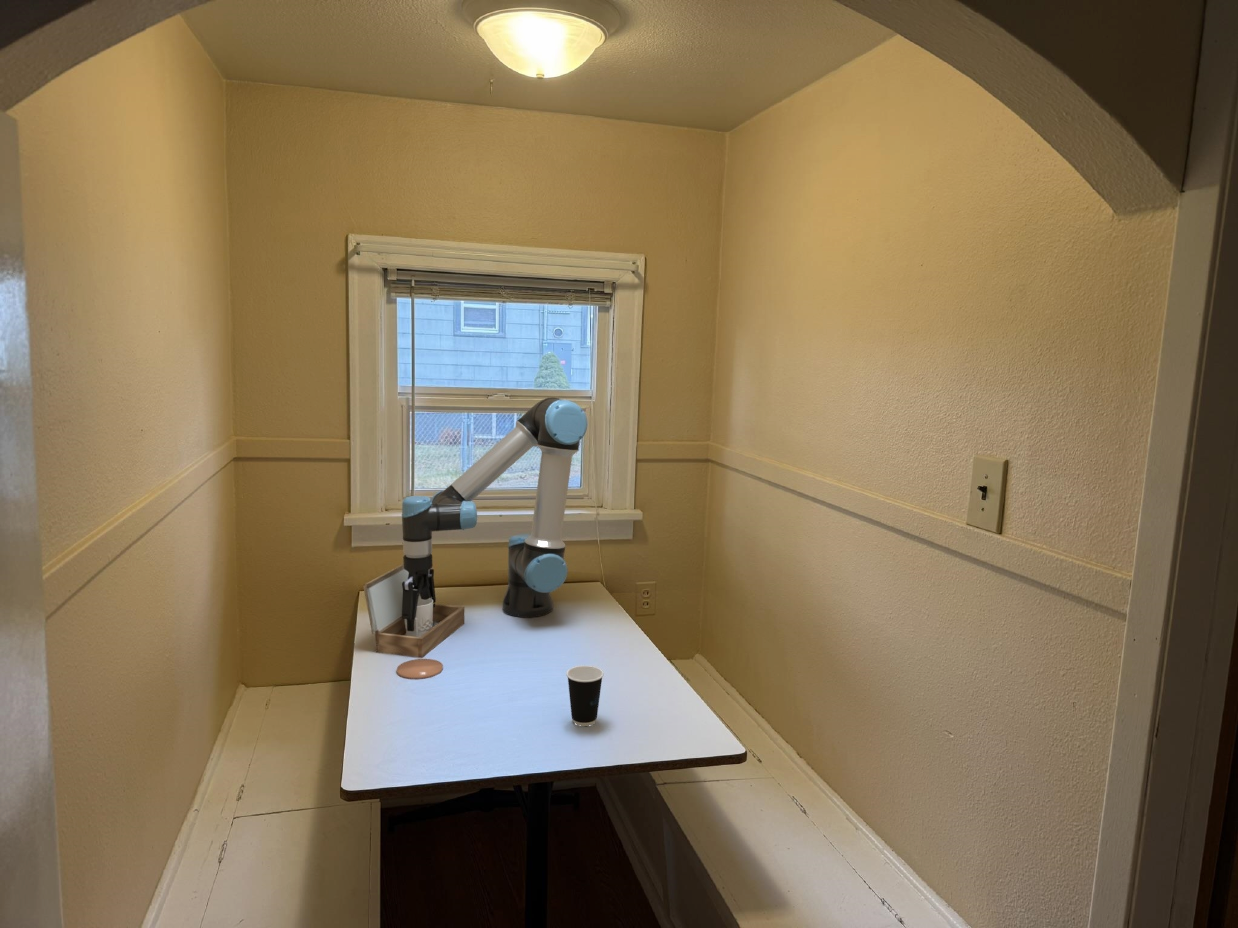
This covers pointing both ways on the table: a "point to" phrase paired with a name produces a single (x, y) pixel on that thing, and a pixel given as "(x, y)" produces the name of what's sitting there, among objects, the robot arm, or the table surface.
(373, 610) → the lid
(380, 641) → the cold frame
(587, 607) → the table surface
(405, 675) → the saucer
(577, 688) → the dixie cup
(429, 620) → the white cup
